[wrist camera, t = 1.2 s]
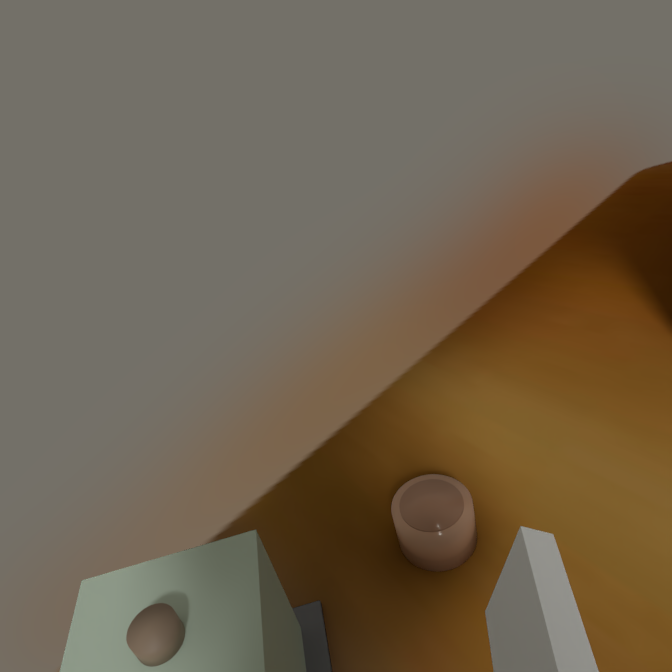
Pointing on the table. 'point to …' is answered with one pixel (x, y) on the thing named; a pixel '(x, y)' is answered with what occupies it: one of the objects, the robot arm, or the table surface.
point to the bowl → (435, 522)
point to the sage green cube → (188, 615)
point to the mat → (314, 637)
